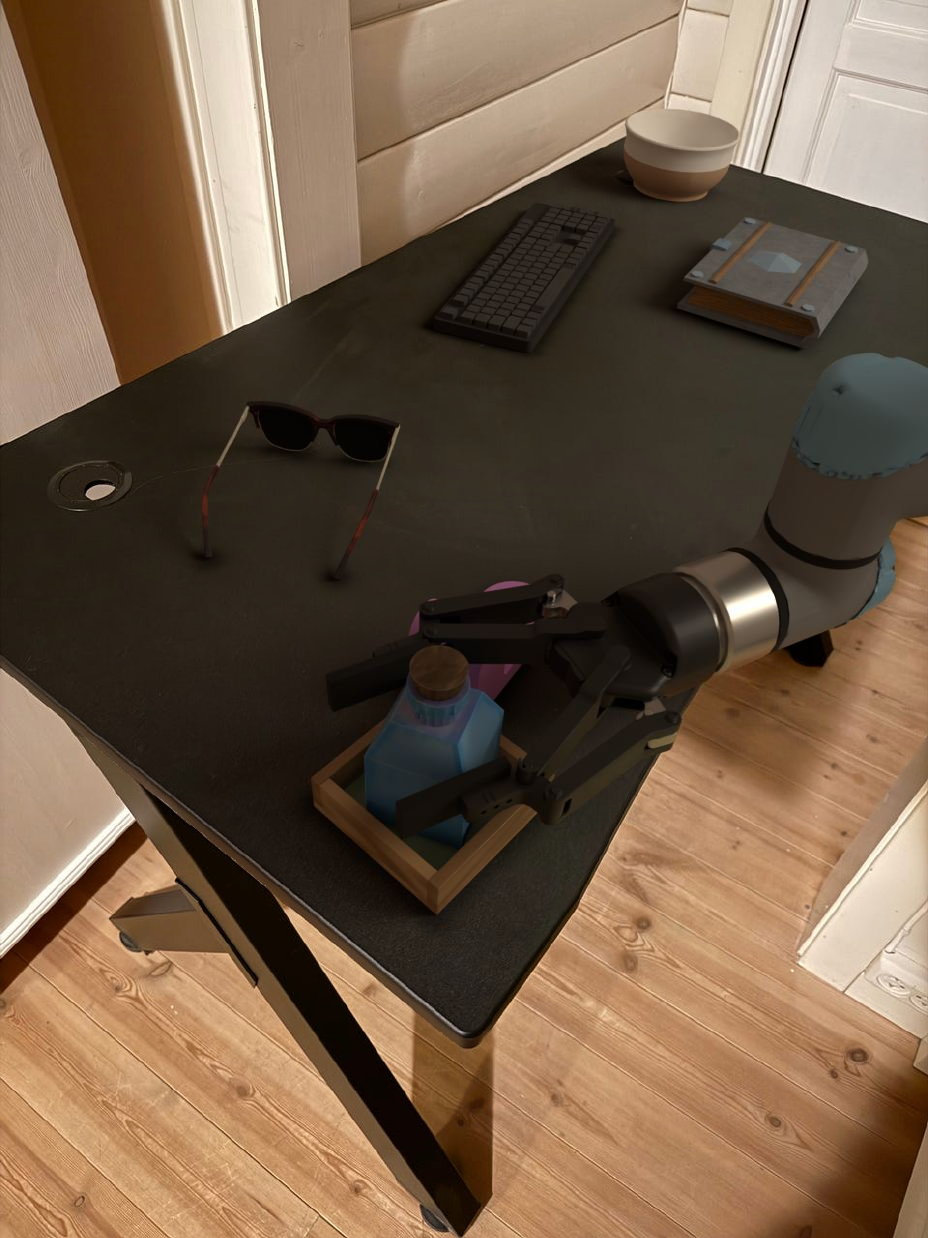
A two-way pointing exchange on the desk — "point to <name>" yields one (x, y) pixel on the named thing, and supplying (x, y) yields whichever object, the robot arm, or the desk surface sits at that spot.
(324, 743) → the desk surface
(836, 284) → the book
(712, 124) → the bowl
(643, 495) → the desk surface
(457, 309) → the keyboard
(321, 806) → the holder
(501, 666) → the bracket
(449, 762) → the blue bottle with cork
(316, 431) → the sunglasses
